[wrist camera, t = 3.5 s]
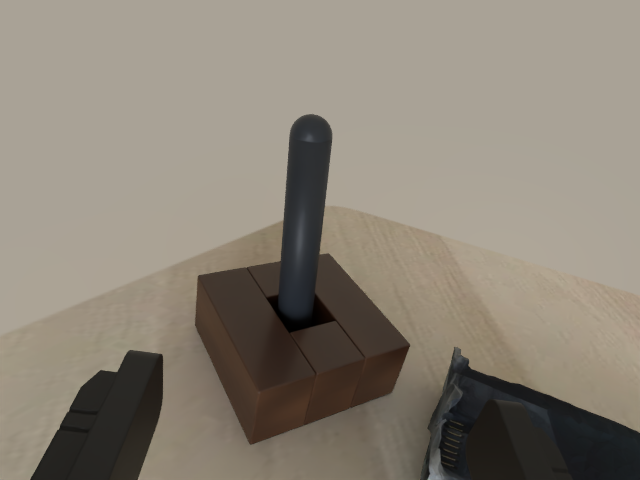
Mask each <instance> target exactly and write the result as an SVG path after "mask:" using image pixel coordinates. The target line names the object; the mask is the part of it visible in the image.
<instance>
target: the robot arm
mask: <svg viewBox="0 0 640 480" xmlns="http://www.w3.org/2000/svg"><path fill="white" fill-rule="evenodd" d="M162 399H163V356H162V354H157V353H149V352H142V351H134V350H129V351H128V352H127V354H126V356H125V357H124V360H123V362H122V364H121V366H120V368H119V370H118V372H111V371H103V370H100V371H99V372H98V373H97V374H96V375H94V376H93V377H92V378H91V379H90V380H89V381H88V382H86V383H85V384H84V385H83V386H82V387H81V388H80V390H79V392H78V394H77V396H76V398H75V399H74V401H73V403H72V405H71V407H70V410H69V412H67V414H66V416H65V418H64V419H63V421H62V423H61V425H60V429H59V430H57V432H56V434H55V436H54V438H53V439H52V441H51V443H50V445H49V447H48V448H47V450H46V452H45V454H44V456H43V458H42V459H41V461H40V463H39V465H38V467H37V468H36V470H35V472H34V474H33V476H32V477H31V479H30V480H138V477H139V474H140V471H141V468H142V465H143V463H144V460H145V457H146V454H147V451H148V448H149V445H150V443H151V440H152V437H153V434H154V431H155V428H156V425H157V422H158V419H159V415H160V411H161V406H162ZM466 460H467V465H468V468H469V472H470V476H471V479H472V480H573V479H572V476H571V474H569V473H568V468H567V466H566V463H565V461H564V459H563V457H562V455H561V453H560V450H559V448H558V447H557V446H556V445H555V443H554V442H553V441H552V440H551V439H550V437H549V436H548V435H547V434H546V433H545V431H544V430H543V429H542V428H538V427H534V426H533V424H532V422H531V419H530V417H529V415H528V412H527V410H526V408H525V407H524V405H523V404H521V403H518V402H511V401H503V400H496V399H489V400H488V401H487V402H486V403H485V405H484V407H483V409H482V411H481V412H480V414H479V416H478V418H477V420H476V422H475V424H474V425H473V427H472V429H471V431H470V433H469V435H468V437H467V441H466Z"/></svg>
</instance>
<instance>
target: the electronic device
mask: <svg viewBox="0 0 640 480" xmlns="http://www.w3.org/2000/svg"><path fill="white" fill-rule="evenodd" d="M468 364H469V359H467V358H465V357H463V356H462V355H461V349H459V348H457V347H454V352H453V356H452V360H451V364H450V367H449V371H448V374H447V377H446V380H445V383H444V387H443V393H442V396H441V398H440V400H439V403H438V405H437V407H436V409H435V411H434V413H433V415H432V418H431V420H430V423H429V426H428V429H429V431H430V432H431V434H432V435H431V439H430V443H429V446H428V450H427V453H426V457H425V460H424V465H423V469H422V473H421V479H420V480H472V479H471V476H470V472H469V468H468V465H467V460H466V441H467V437H468V435H469V433H470V431H471V429H472V427H473V425H474V424H475V422H476V420H477V418H478V416H479V414H480V412H481V411H482V409H483V407H484V405H485V403H486V402H487V401H488V400H489V399H496V400H503V401H511V402H518V403H521V404H523V405H524V407H525V408H526V410H527V412H528V415H529V417H530V419H531V422H532V424H533V426H534V427H538V428H542V429H543V430H544V431H545V433H546V434H547V435H548V436H549V437H550V439H551V440H552V441H553V442H554V443H555V445H556V446H557V447H558V448H559V450H560V453H561V455H562V457H563V459H564V461H565V463H566V466H567V468H568V473H569V474H571V476H572V479H573V480H640V433H639V432H637V431H635V430H632V429H630V428H628V427H626V426H624V425H622V424H619V423H617V422H615V421H612V420H609V419H607V418H604V417H602V416H599V415H596V414H593V413H591V412H588V411H586V410H583V409H581V408H578V407H575V406H573V405H571V404H569V403H567V402H564V401H561V400H559V399H556V398H554V397H552V396H550V395H547V394H543V393H540V392H538V391H535V390H532V389H530V388H528V387H525V386H523V385H521V384H516V383H510V382H507V381H504V380H501V379H499V378H497V377H494V376H488V375H486V374H483V373H480V372H478V371H475V370H472V369H471V368H470V367H469V366H468Z"/></svg>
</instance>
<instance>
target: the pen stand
mask: <svg viewBox="0 0 640 480" xmlns="http://www.w3.org/2000/svg"><path fill="white" fill-rule="evenodd" d="M280 265H281V261H280V262H274V263H268V264H262V265H257V266H251V267H247V268H239V269H233V270H227V271H221V272H215V273H210V274H204V275H199V276H198V282H197V300H196V318H195V326H196V328H197V330H198V332H199V335H200V337H201V339H202V341H203V343H204V346H205V348H206V350H207V352H208V354H209V356H210V359H211V361H212V363H213V365H214V367H215V369H216V372H217V374H218V376H219V378H220V380H221V382H222V385H223V387H224V389H225V391H226V393H227V396H228V398H229V400H230V402H231V404H232V406H233V409H234V411H235V413H236V415H237V417H238V419H239V422H240V424H241V426H242V428H243V430H244V432H245V435H246V437H247V439H248V441H249V443H250V444H254V443H257V442H259V441H262V440H265V439H267V438H270V437H273V436H276V435H278V434H281V433H284V432H286V431H289V430H292V429H294V428H297V427H300V426H302V425H303V424H304V425H306V424H308V423H311V422H314V421H316V420H319V419H322V418H324V417H327V416H330V415H333V414H335V413H338V412H341V411H343V410H346V409H349V408H350V407H354V406H356V405H359V404H362V403H365V402H367V401H370V400H373V399H375V398H378V397H381V396H383V395H386V394H389V393H391V392H392V391H393V389H394V386H395V384H396V381H397V378H398V376H399V373H400V371H401V368H402V365H403V363H404V360H405V358H406V355H407V352H408V350H409V347H410V344H409V343H408V341H407V340H406V339H405V338H404V337H403V336H402V335H401V334H400V332H399V331H398V330H397V329H396V328H395V327H394V326H393V325H392V323H391V322H390V321H389V320H388V319H387V318H386V317H385V316H384V315H383V313H382V312H381V311H380V310H379V309H378V308H377V307H376V306H375V304H374V303H373V302H372V301H371V300H370V299H369V298H368V297H367V296H366V294H365V293H364V292H363V291H362V290H361V289H360V288H359V287H358V285H357V284H356V283H355V282H354V281H353V280H352V279H351V278H350V276H349V275H348V274H347V273H346V272H345V271H344V270H343V269H342V268H341V266H340V265H339V264H338V263H337V262H336V261H335V260H334V259H333V257H332V256H331V255H330V254H328V253H327V254H321V255H319V261H318V270H317V279H316V288H315V297H314V305H313V314H312V323H311V327H309V328H306V329H302V330H298V331H294V332H290V334H289V332H288V331H287V329H286V328H285V326H284V325H283V323H282V322H281V320H280V319H279V317H278V316H277V307H278V293H279V279H280Z"/></svg>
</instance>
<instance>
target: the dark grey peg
mask: <svg viewBox="0 0 640 480" xmlns="http://www.w3.org/2000/svg"><path fill="white" fill-rule="evenodd" d="M331 145H332V130H331V128H330V125H329V124H328V122H327V121H326V120H325V119H323V118H322V117H320V116H318V115H314V114H309V115H304V116H302V117H300V118H299V119H297V120H296V121H295V122H294V124H293V125H292V128H291V130H290V139H289V153H288V166H287V181H286V196H285V209H284V223H283V237H282V251H281V265H280V279H279V293H278V307H277V316H278V317H279V319H280V320H281V322H282V323H283V325H284V326H285V328H286V329H287V331H288V332H289V334H290V332H294V331H298V330H302V329H306V328H309V327H311V323H312V314H313V305H314V297H315V288H316V279H317V270H318V261H319V252H320V243H321V234H322V225H323V216H324V208H325V199H326V190H327V181H328V172H329V163H330V153H331Z"/></svg>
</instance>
